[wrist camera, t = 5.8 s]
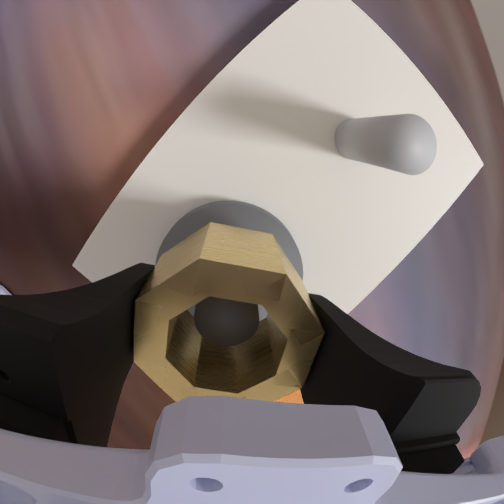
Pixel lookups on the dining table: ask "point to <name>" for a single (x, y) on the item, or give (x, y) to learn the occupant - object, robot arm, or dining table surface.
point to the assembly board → (297, 164)
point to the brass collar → (233, 288)
